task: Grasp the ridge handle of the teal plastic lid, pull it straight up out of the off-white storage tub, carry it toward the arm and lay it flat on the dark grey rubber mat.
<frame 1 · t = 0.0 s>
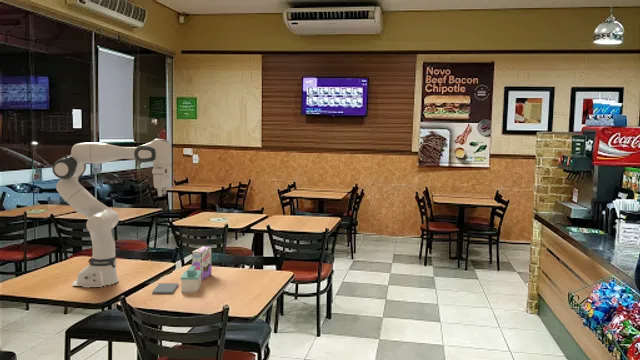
hand: (162, 195, 257), 48 cm above the table, fingers open, 8 cm apart
candy box: (201, 277, 273), on the table
mat: (165, 289, 249), on the table
tub: (191, 288, 252), on the table
lid: (191, 275, 251), point 7 cm above the table, touching tub
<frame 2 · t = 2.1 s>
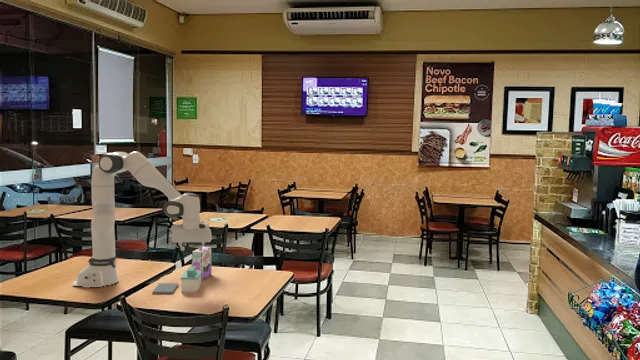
hand: (191, 250, 250), 21 cm above the table, fingers open, 8 cm apart
nothing on the table moved.
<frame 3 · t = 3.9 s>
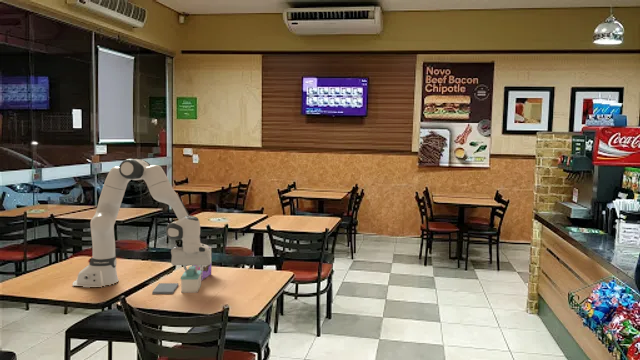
hand: (191, 273, 251), 8 cm above the table, fingers closed on lid, 3 cm apart
lid: (191, 275, 251), point 7 cm above the table, touching gripper, tub
everything else where it was.
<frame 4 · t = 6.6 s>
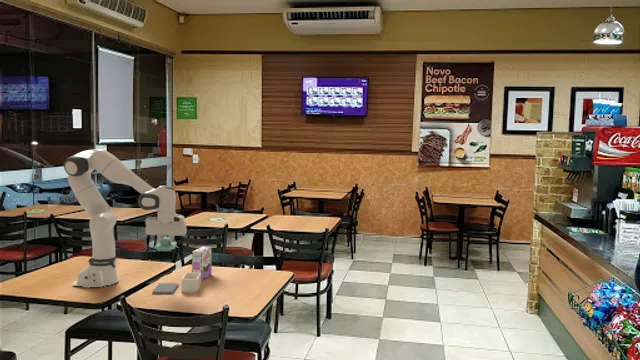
hand: (165, 243, 248), 24 cm above the table, fingers closed on lid, 3 cm apart
lid: (165, 246, 248), point 23 cm above the table, touching gripper
everything else where it was.
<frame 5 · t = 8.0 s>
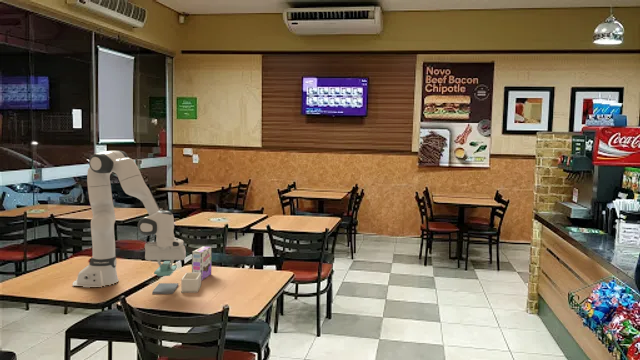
hand: (165, 268, 248), 11 cm above the table, fingers closed on lid, 3 cm apart
lid: (165, 270, 249), point 10 cm above the table, touching gripper
everything else where it was.
when the fingers open (6 cm above the table, at t = 9.3 s): lid drops 2 cm, resting on mat.
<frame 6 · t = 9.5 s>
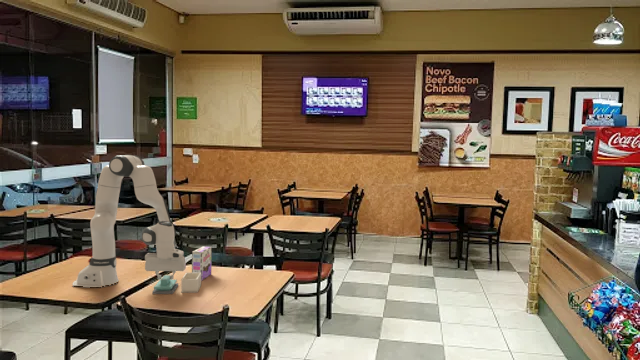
hand: (165, 279, 249), 6 cm above the table, fingers open, 5 cm apart
lid: (165, 285, 249), point 2 cm above the table, touching mat
everything else where it was.
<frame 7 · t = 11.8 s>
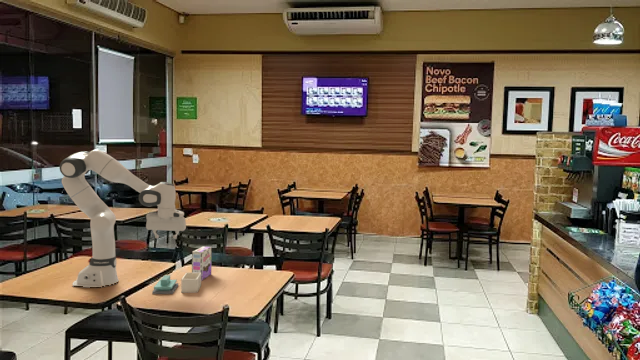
hand: (165, 238, 255), 25 cm above the table, fingers open, 8 cm apart
nothing on the table moved.
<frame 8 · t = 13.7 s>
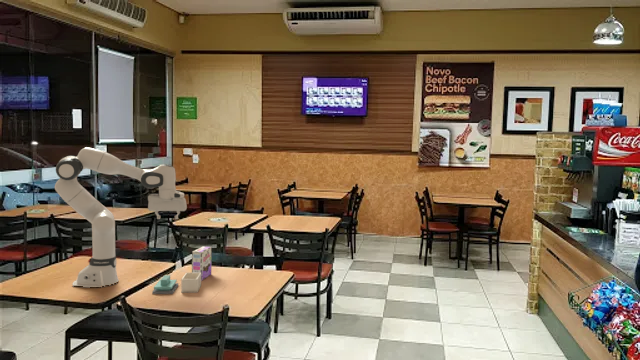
hand: (167, 218, 264), 34 cm above the table, fingers open, 8 cm apart
nothing on the table moved.
at the end: lid inside the target area on the mat (0.1 cm from its centre), point 2.4 cm above the mat's base; lid tilted 0°; lid touching mat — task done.
